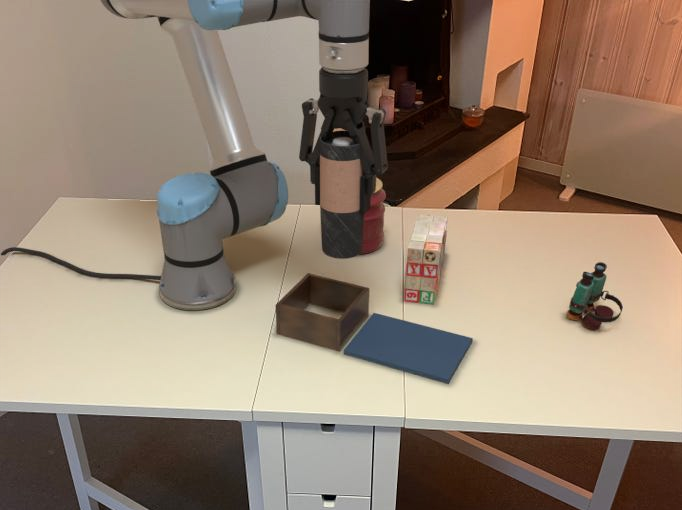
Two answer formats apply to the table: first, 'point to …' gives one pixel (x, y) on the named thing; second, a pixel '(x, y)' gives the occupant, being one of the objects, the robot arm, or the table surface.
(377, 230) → the kitchen canister
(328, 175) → the travel mug
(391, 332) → the mat
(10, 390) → the table surface
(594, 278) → the binoculars
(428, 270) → the stack of blocks
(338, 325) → the cube shelf
